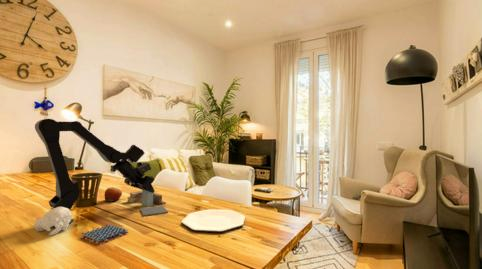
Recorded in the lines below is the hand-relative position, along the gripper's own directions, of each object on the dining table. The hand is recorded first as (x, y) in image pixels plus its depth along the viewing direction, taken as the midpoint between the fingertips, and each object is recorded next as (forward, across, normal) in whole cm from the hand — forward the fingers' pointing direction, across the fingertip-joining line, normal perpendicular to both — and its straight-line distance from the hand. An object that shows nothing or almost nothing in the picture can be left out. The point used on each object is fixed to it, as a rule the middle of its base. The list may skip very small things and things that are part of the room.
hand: (150, 191), depth 114 cm
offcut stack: (+4, +11, +6) cm, 13 cm away
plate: (+8, -40, +2) cm, 41 cm away
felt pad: (+2, -11, +8) cm, 14 cm away
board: (+4, 0, +6) cm, 7 cm away
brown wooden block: (+8, +2, +2) cm, 8 cm away
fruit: (-2, +21, +11) cm, 23 cm away
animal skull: (-23, -6, +33) cm, 41 cm away
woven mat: (-15, -23, +25) cm, 37 cm away
